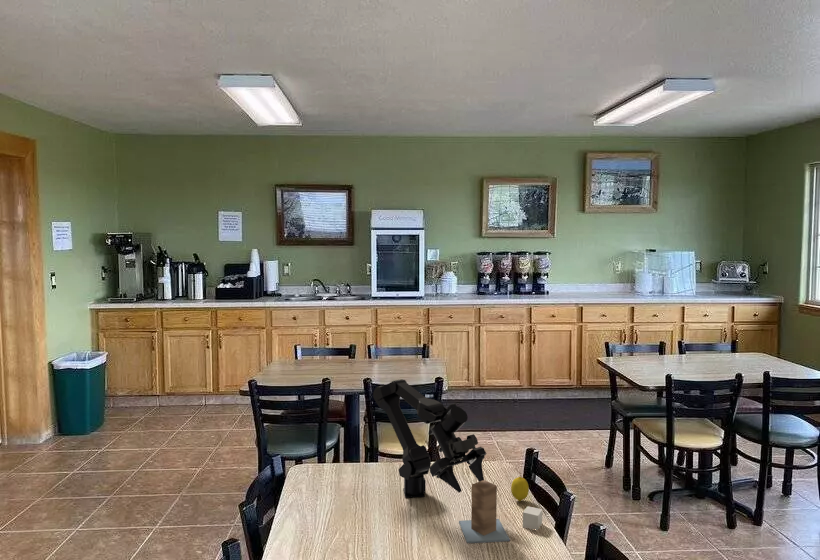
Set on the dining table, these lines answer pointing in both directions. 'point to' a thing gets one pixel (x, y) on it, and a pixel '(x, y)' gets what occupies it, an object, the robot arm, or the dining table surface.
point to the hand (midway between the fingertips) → (472, 487)
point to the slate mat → (476, 537)
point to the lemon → (519, 488)
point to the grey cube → (532, 518)
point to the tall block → (484, 507)
